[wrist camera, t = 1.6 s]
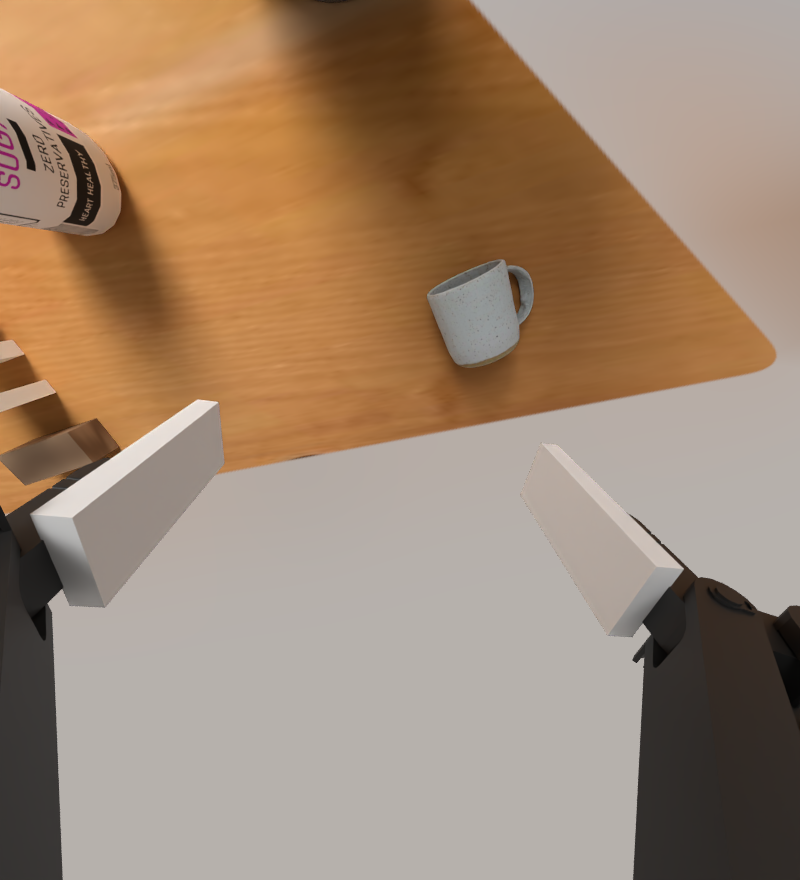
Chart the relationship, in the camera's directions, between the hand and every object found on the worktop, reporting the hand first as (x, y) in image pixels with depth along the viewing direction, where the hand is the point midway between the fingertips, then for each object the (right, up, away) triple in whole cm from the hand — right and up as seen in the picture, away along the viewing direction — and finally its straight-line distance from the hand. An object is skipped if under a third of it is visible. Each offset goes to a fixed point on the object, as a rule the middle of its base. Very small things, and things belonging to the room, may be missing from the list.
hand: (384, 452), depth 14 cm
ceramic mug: (+9, +15, +22) cm, 28 cm away
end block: (-39, 0, +26) cm, 47 cm away
